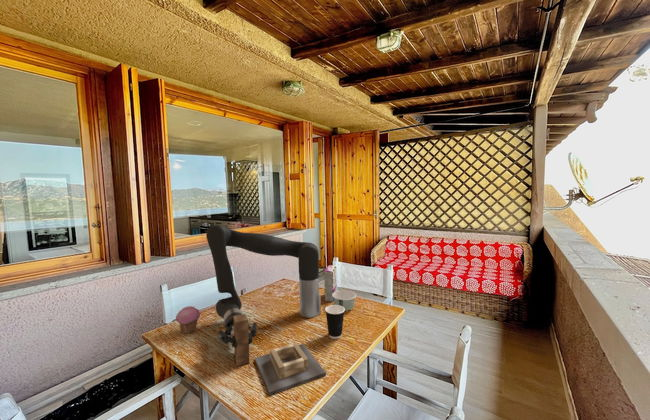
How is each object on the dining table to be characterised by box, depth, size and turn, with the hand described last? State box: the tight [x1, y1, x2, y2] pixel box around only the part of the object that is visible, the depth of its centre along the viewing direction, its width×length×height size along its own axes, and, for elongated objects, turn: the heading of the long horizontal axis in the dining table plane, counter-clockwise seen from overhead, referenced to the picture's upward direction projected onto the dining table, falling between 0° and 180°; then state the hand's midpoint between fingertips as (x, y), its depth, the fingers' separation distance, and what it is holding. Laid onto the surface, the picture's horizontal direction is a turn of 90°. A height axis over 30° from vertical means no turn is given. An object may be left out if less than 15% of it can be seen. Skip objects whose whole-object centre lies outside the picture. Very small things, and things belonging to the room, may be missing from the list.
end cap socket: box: [254, 342, 327, 397], centre depth 88 cm, size 18×18×4 cm
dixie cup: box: [324, 304, 345, 340], centre depth 107 cm, size 8×8×11 cm
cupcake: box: [175, 305, 201, 334], centre depth 112 cm, size 9×9×10 cm
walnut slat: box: [233, 313, 250, 367], centre depth 91 cm, size 4×5×15 cm
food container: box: [332, 290, 357, 312], centre depth 134 cm, size 12×12×6 cm
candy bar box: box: [323, 264, 338, 303], centre depth 146 cm, size 11×5×16 cm, turn 168°
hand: (242, 343), depth 89 cm, fingers closed on walnut slat, 4 cm apart
